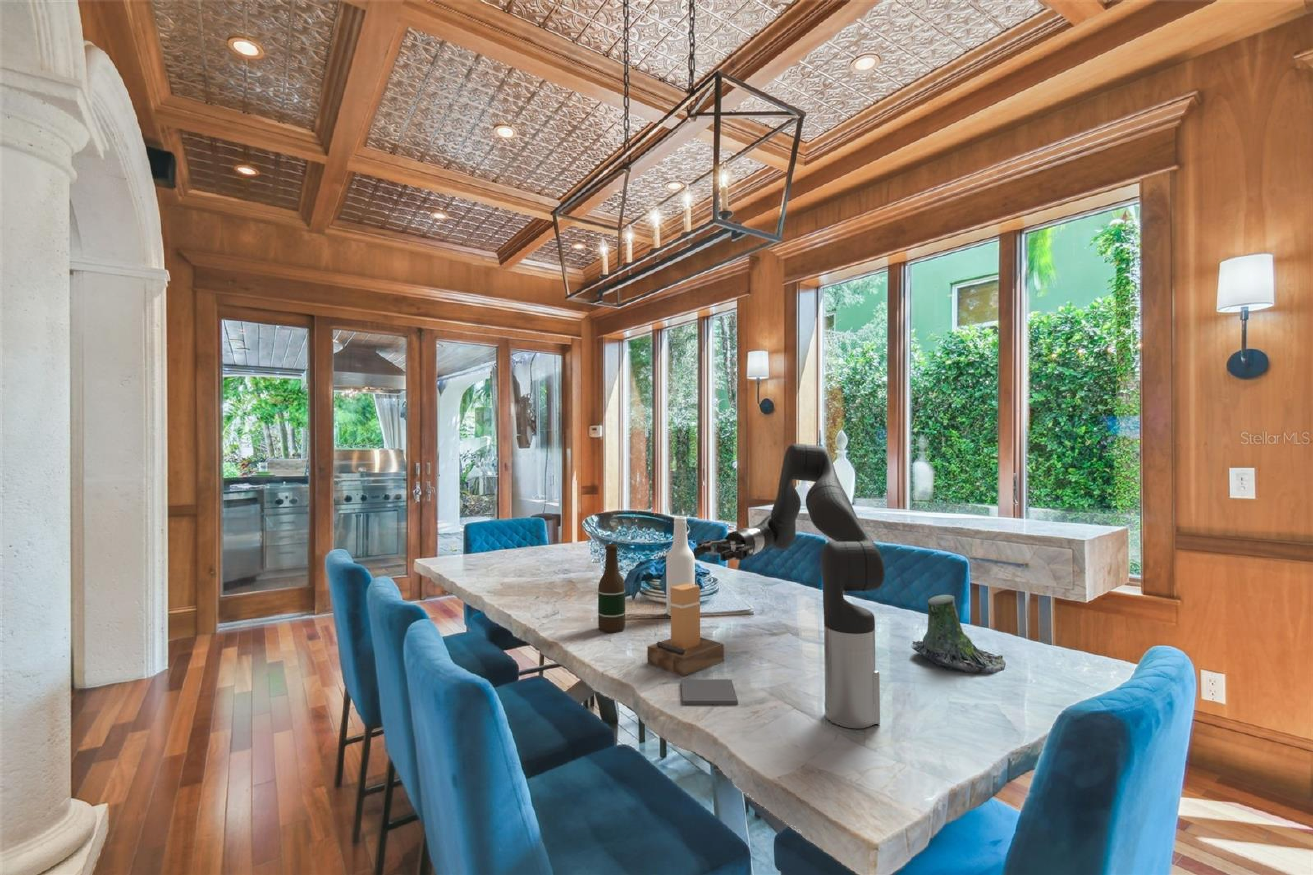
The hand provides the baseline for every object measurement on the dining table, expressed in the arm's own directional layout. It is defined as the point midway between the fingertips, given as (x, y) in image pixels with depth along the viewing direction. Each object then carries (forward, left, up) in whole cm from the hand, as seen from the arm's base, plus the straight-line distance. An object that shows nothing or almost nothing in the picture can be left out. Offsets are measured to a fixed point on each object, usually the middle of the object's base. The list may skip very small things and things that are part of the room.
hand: (708, 554), depth 150 cm
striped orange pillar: (+6, +7, -24) cm, 26 cm away
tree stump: (-59, +6, -25) cm, 64 cm away
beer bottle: (+26, -19, -25) cm, 41 cm away
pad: (+2, +25, -24) cm, 35 cm away
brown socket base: (+6, +7, -24) cm, 26 cm away
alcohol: (+6, -33, -25) cm, 42 cm away
